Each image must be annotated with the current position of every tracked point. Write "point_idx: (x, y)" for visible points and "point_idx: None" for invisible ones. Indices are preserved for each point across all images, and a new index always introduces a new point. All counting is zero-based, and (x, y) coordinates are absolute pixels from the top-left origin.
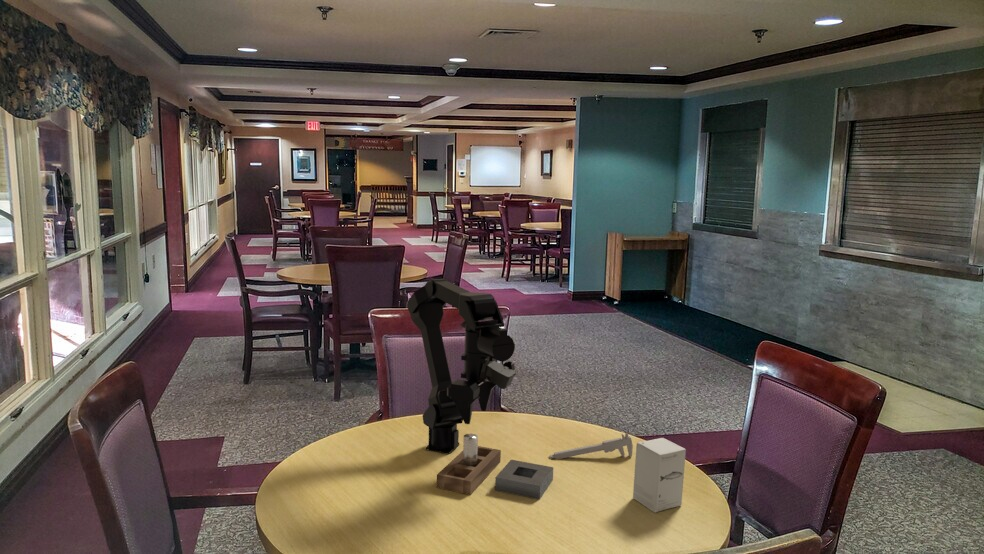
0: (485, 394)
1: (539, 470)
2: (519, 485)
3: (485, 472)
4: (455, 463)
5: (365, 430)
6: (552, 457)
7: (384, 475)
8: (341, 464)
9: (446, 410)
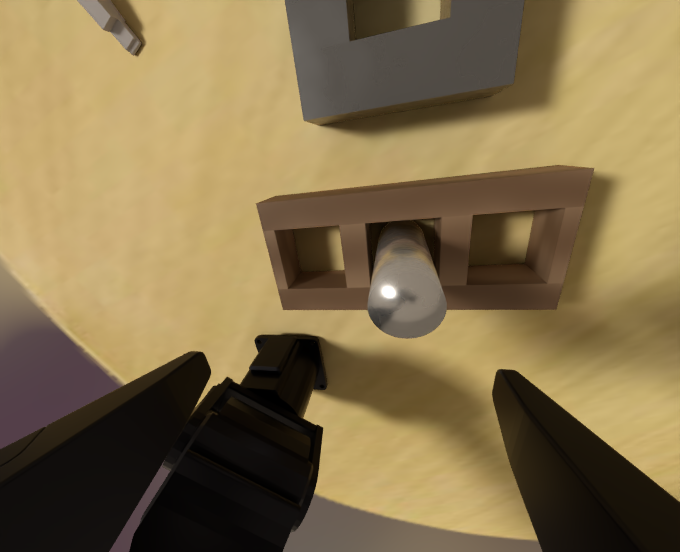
0: (66, 489)
1: None
2: None
3: (412, 183)
4: None
5: None
6: (129, 30)
7: None
8: (474, 481)
9: (281, 475)
